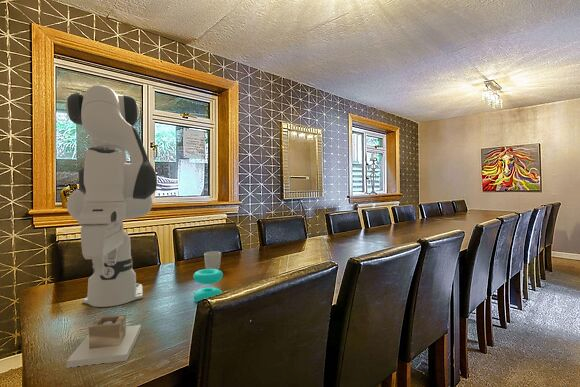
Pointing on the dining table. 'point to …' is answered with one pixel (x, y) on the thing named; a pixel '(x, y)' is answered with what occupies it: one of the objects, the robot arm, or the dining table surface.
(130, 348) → the post board
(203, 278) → the donuts
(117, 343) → the collar
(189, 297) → the dining table surface
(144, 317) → the dining table surface
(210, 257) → the cup
